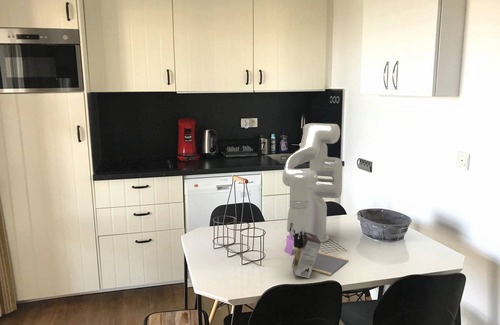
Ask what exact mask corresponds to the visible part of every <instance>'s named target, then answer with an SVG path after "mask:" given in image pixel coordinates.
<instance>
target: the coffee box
mask: <svg viewBox="0 0 500 325" xmlns="http://www.w3.org/2000/svg"><path fill="white" fill-rule="evenodd" d="M321 245H322V243H321V242H320V240H319V239H318V237H317V236H316V235H313V234H310V233H307V232H304V236H303V247H302V248H296V251H295V253H294V257H293V259H292V260H293V261H292V264H291V268H292V270H293V272H294V275H295V276H298V277H303V278H307V279H311V278H310V277H311V275H312V272H313V271H312V269H313V266H314V263H315V260H316V257H317V254H318V252H320V251H319V250H320V247H321Z"/></svg>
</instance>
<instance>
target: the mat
mask: <svg viewBox="0 0 500 325" xmlns="http://www.w3.org/2000/svg"><path fill="white" fill-rule="evenodd" d="M347 263H349V259H347V258H344V257H340V256H336V255H332V254H328V253H324V252H321V251H318V254H317V257H316V260H315V263H314V266H313V269H312V271H311V272H315V273H317V274H320V275H325V276H327V277H331V276H333V275H334V274H335V273H336V272H338V271H339V270H340V269H341V268H342V267H344V266H345V265H346V264H347Z"/></svg>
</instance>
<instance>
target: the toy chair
mask: <svg viewBox="0 0 500 325" xmlns="http://www.w3.org/2000/svg"><path fill="white" fill-rule="evenodd" d="M288 233H289V234H288V235H286V239H285V241H286V245H285V248H284V250H283V251H284V252H285V253H286V254H288V255H289V256H291V257H292V256H293V248H294V238H293V237H291V236H290V234H291V231H290V232H288Z"/></svg>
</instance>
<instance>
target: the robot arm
mask: <svg viewBox="0 0 500 325" xmlns="http://www.w3.org/2000/svg"><path fill="white" fill-rule="evenodd" d="M340 135H341V129H340V126H339V125H338V124H337V123H320V122H318V123H317V122H315V123H313V122H311V123H307V124H305V125H304V126H303V127H302V137H301V142H300V146H299V149H297V150H296V151H294V152H293V153H292V154H291V155H290V156H289V157H288V158H287V160H286V162H285V164H284V167H283V173H282V182H283V184H284V185H285V186H287V187H289V209H288V211H287V212H288V213H287V220H286V230H287V232H288V233H289V232H290V231H291V234H290V236H291V237H293V238H294V245H293V248H296V249H297V248H302V247H303V236H304V232H307V233H310V234H313V235H316V236H317V237H318V239H319V240H320V242H321V244H322V243H326V242H328V241H329V240H330V236H329V235H328V234H327V219H328V218H327V214H328V213H327V212H328V211H327V209H328V206H327V203H326V201H325V199H339V198H341V196H342V193H343V192H342V191H343V170H344V169H343V162H342V160H341V158H339V157H335V156H334V157H331V156H328V146H327V144H335V143H337V142H338V140H339V139H340ZM308 162H309V169H302V168H295V167H297V166H299V165H301V164H305V163H308ZM322 177H328V178H322ZM329 177H330V178H329ZM324 198H325V199H324Z"/></svg>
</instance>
